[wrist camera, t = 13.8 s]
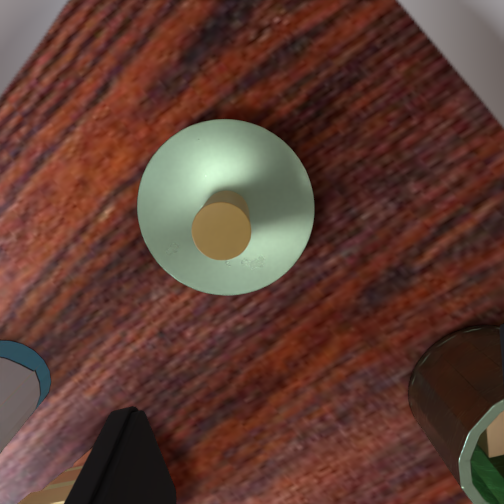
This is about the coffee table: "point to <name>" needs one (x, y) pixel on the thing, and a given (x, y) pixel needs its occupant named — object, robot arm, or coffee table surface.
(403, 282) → the coffee table surface
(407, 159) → the coffee table surface
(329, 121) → the coffee table surface
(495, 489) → the bowl
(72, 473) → the potted cactus
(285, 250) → the lid
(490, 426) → the block
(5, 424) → the white printed cylinder
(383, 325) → the coffee table surface
